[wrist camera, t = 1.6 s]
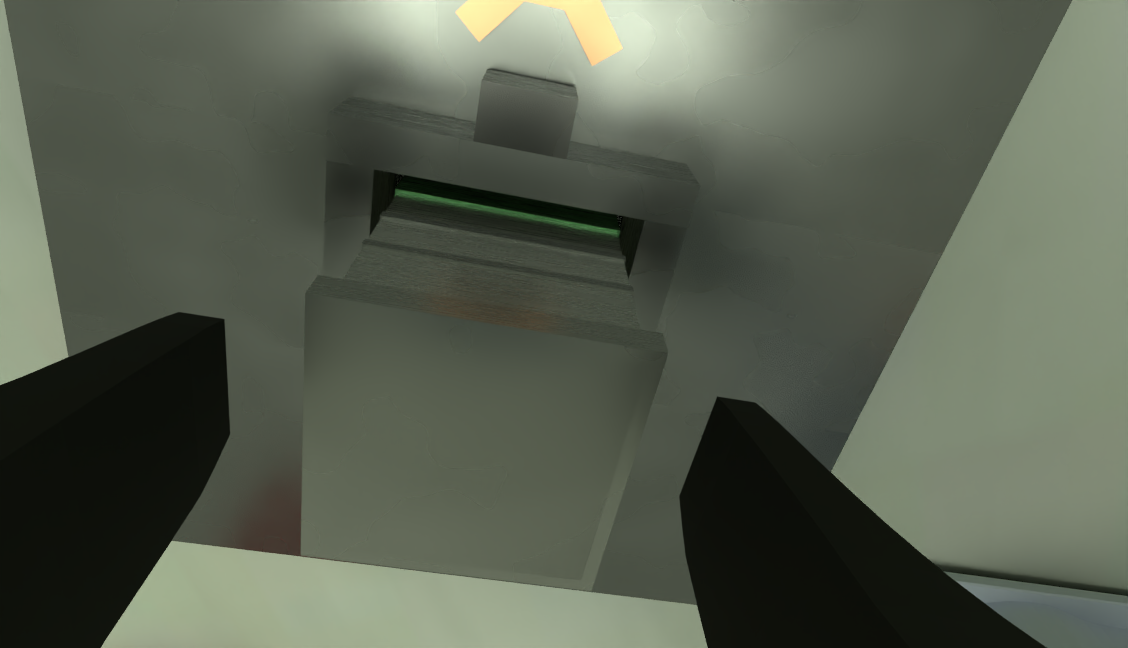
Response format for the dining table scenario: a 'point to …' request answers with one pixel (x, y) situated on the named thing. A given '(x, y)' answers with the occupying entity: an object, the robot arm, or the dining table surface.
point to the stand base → (522, 191)
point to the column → (475, 390)
